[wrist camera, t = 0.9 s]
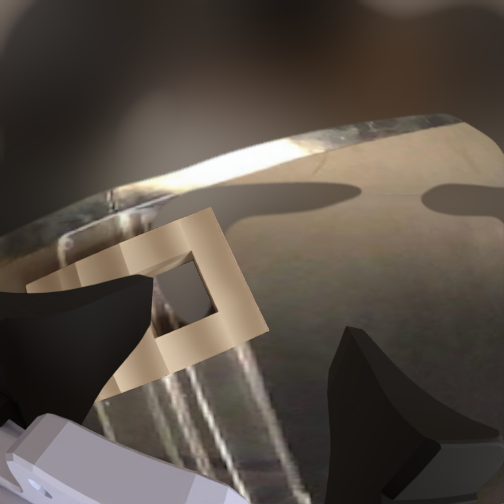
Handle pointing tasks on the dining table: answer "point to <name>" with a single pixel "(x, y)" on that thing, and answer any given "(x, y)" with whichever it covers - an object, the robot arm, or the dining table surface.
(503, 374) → the dining table surface
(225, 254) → the holder
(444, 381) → the dining table surface
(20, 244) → the dining table surface
